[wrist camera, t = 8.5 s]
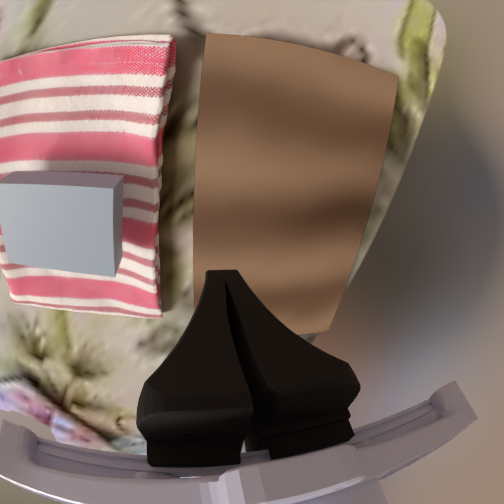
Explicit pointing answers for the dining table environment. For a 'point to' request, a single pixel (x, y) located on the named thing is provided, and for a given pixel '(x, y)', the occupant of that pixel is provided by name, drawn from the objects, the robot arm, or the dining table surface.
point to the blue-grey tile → (63, 220)
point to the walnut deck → (286, 170)
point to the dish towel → (93, 156)
